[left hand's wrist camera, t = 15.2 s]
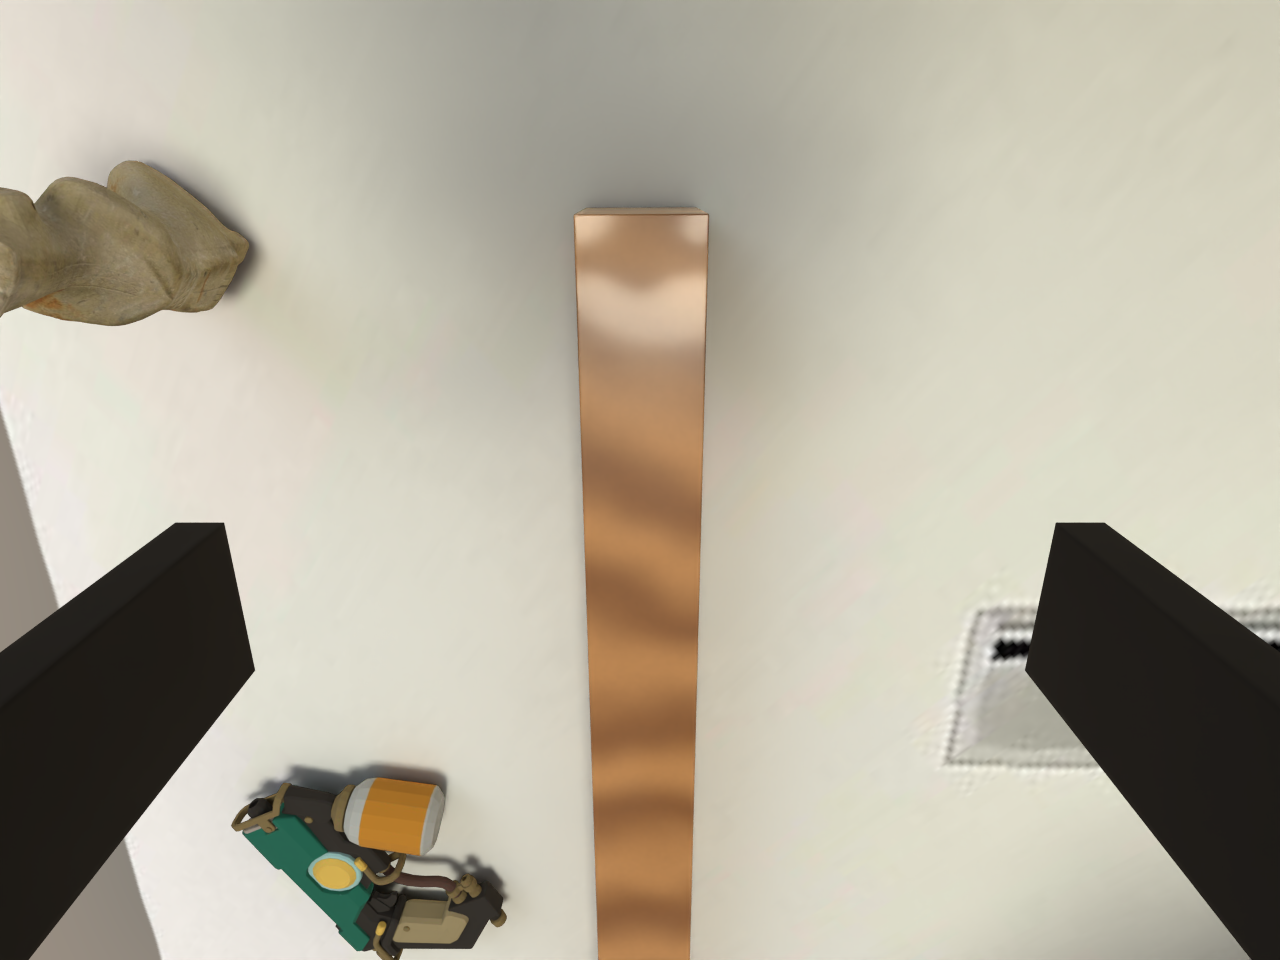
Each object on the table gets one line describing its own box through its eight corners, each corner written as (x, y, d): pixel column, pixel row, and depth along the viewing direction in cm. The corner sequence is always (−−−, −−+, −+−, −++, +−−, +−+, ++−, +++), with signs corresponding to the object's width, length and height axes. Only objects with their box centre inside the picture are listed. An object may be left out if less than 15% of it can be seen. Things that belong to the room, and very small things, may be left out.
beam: (585, 207, 39) (573, 214, 32) (696, 207, 39) (709, 213, 32) (612, 1168, 68) (609, 1283, 61) (677, 1168, 68) (681, 1283, 61)
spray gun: (520, 913, 57) (328, 934, 59) (454, 741, 50) (238, 771, 52) (510, 970, 54) (305, 992, 55) (437, 793, 47) (205, 824, 48)
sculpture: (152, 138, 38) (-132, 114, 24) (281, 238, 40) (85, 270, 26) (97, 233, 40) (-200, 263, 26) (224, 326, 41) (10, 401, 27)
